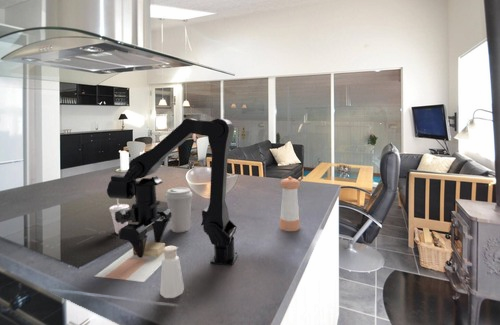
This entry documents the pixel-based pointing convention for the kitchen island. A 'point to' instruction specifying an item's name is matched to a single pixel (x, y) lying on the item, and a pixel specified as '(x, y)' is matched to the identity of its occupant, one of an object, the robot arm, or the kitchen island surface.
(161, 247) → the wooden block
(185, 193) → the coffee cup
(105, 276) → the mat
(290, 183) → the salt shaker
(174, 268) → the pepper shaker
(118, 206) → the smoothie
